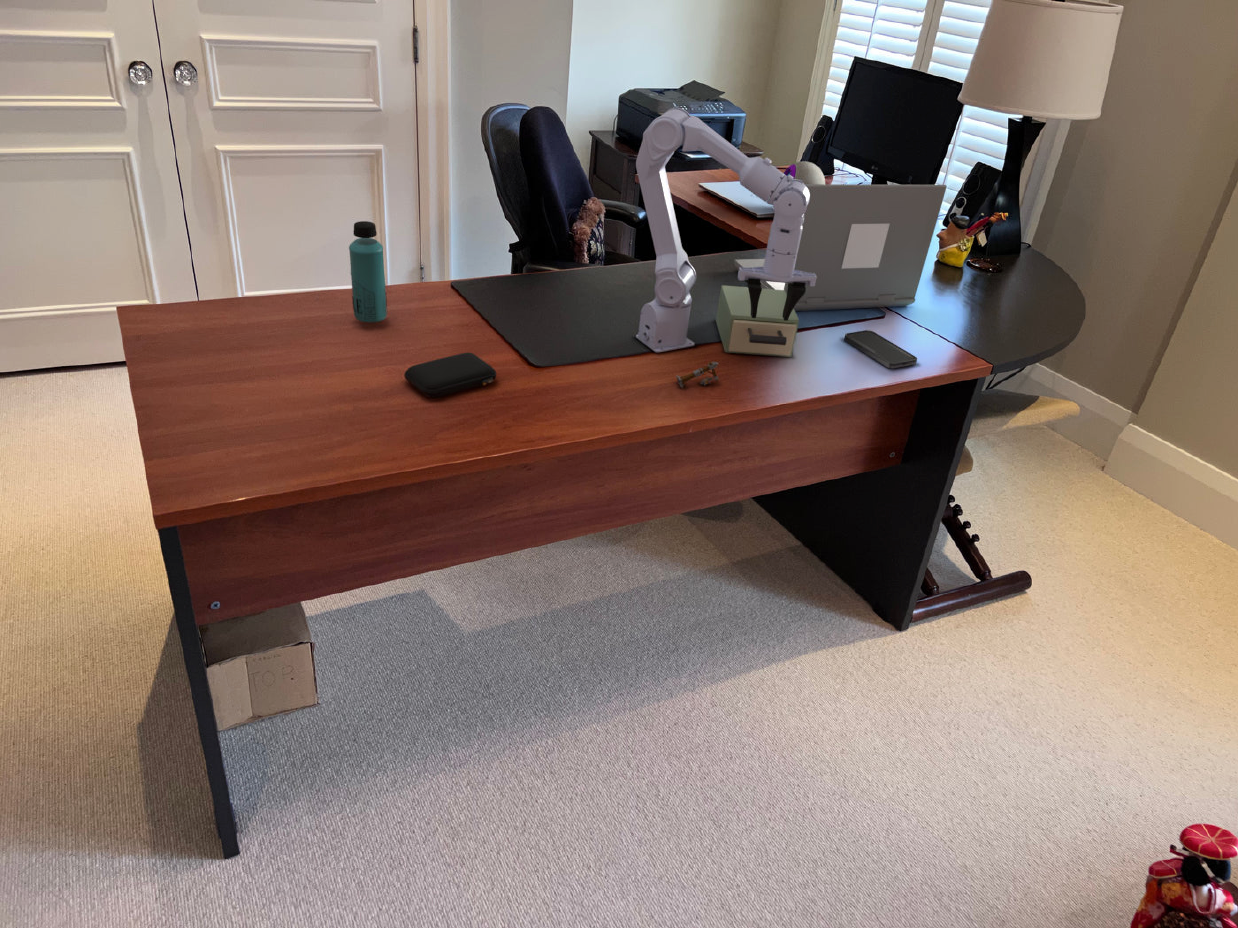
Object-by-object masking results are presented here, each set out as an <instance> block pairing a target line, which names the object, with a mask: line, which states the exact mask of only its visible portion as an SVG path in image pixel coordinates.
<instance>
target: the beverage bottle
mask: <svg viewBox="0 0 1238 928" xmlns="http://www.w3.org/2000/svg"><path fill="white" fill-rule="evenodd" d="M352 232H353V236H354V237H357V238H355V240H353V241H352V242H351V243H350V244H349V245H348V250H349V259H350V260H349V261H350V264H349V265H350V272H349V274H350V277H351V278H350V279H351V294H352V295H351V300H352V303H351V304H352V311H353V315H354V318H355V320H358V321H359V322H364V323H378V322H382V321H383V320H385V319H386V318H387V315H388V301H387V300H388V298H387V290H386V288H387V283H386V277H385V264H384V263H385V262H384V245H383V244H382V243H381V242H380V241H379V240H377V239H375V238H374V237H376V236H377V226H376V224H375V222H372V221H368V220H362V221H356V222H355V223H353V231H352Z"/></svg>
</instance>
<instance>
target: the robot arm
mask: <svg viewBox="0 0 1238 928" xmlns="http://www.w3.org/2000/svg"><path fill="white" fill-rule="evenodd" d="M682 145H683V146H682ZM681 146H682V150H681V151H682V152H698V151H700V152H702V153H704V154H706V155H707V156H709V157H710V158H712V159H714V160H715V161H717V162H718V163H720V164H722V165H723V166H724V167H726V168H727V169H729V170H730V171H733V172H734V173H736V174H737V176H738V180H739V185H741V186H742V187H743V188H745V189H746V190H748V191H749V192H750V193H751V194H753V195H755V196H756V197H757V198H759V200H762V201H763V202H765V203H766V204H768V205H771V206H772V208H773V212H774V216H773V221H772V222H771V223H770V230H769V235H768V241H767V246H766V249H765V250H766V251H765V256H764V259H765V261H764V266H763V267H739V270H738V271H737V279H738V281H742V282H746V285H747V287H748V289H749V294H750V302H751V317H752V318H756V315H757V308H758V302H759V298H760V294H761V291H762V288H761V282H760V281H768V282H781V283H788V289H787V297H786V302H785V306H784V309H783V316H782V317H783V319H784V321H788V318H789V316H790V314H791V312H792V310H793V308H794V307H795V305H796V304H797V302H798V301H799V300H800V298H801V297H802V296H803V295H804V294H805V292H806V287H805V285H809V286H815V283H816V278H817V277H816V275H815V273H808V272H803V271H798V270H794V268H795V263H796V258H797V253H798V249H799V244H800V239H801V234H802V229H803V227H802V224H803V222H804V213H805V211H806V209H807V205H808V203H809V199H810V193H809V190H808V188H807V186H806V185H805V184H804V183H803V182H802V181H801V180H797V179H793V177H792V176H791V175H788V177H787V176H786V175H785V174H783V173H784V172H782V171H780V169H778V168H776V167H775V166H774V165H772V162H773V161H772V159H770V158H768V157H765V158H762V157H761V156H754V157H748V156H747V155H746V154H745V153H743V152H741V151H740V150H739V149H738V148H737V147H735V146H734V144H732V143H730V142H729V141H728V140H727V139H725V138H724V137H723V136H721V135H720V134H719V133H717V131H715V130H714V129H713V128H711V127H710V126H708V125H707V124H706V123H705V122H704V121H703V120H701V119H700V118H699V117H697V116H695V115H691V114H690V113H689V112H688V111H687V110H686V109H684V108H681V107H672V108H669V109H668V110H667V109H666V111H665V112H664V113H663V114H662V115H660V116H658V117H655V119H654V120H652V121H651V122H650V124H649V125H648V126H647V128H645V130H644V132H643V134H642V141H641V145H640V147H639V151H638V154H637V157H636V161H635V168H636V173H637V178H638V181H639V182H638V183H639V186H640V190H641V195H642V198H643V199H642V200H643V203H644V208H645V212H646V217H647V221H648V226H649V230H650V234H651V239H652V242H653V247H654V252H655V255H656V258H655V259H656V261H655V267H654V269H655V270H654V274H655V278H656V280H655V284H654V294H655V298H654V299H653V300H652V301H650V302H647V303H645V304H643V306H642V307H641V310H640V315H639V316H640V317H639V324H638V333H637V334H636V335H635V338H636V339H637V340H639V341H640V342H641V343H643V344H644V345H645V346H646V347H648V348H649V349H651V350H652V351H653V352H654V353H656V354H657V353H658V354H659V353H663V352H670V351H673V350H674V351H675V350H681V349H685V348H690V347H694V346H695V344H696V343H695V342H694V341H692V340H691V339H689V338H688V337H687V336H688V330H689V329H688V328H689V322H690V316H691V309H692V303H693V302H692V301H693V299H692V296H691V293H690V291H691V290H692V288H694V286H695V284H696V283H697V282H696V281H697V272H696V270H695V268H694V267H693V265H692V264H691V263H690V260H689V257H688V254H687V252H686V251H685V250H684V248H683V246H682V245H683V244H682V242H681V241H682V240H681V236H680V231H679V227H678V222H677V218H676V213H675V209H674V204H673V198H672V194H671V190H670V185H669V181H668V176H667V171H666V165H667V163H668V162H669V161H670V159H671V157H672V156H673V155H674V153H675V151H677V149H678V148H680V147H681ZM784 175H785V176H784ZM782 178H783V179H782Z"/></svg>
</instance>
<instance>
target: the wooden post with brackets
mask: <svg viewBox="0 0 1238 928" xmlns="http://www.w3.org/2000/svg"><path fill="white" fill-rule="evenodd" d="M717 366H719V363H718V361H709V362H708V363H707V365H705V366H703V367H699V368H697V369H695V370H693V371H692V372H691V373H688V374H684V375H682V376H679V375H675V377H676V379H677V383H678V385H679V386H680V387H681V388H684V385H685V384H686V383H688V382H689V381H691V380H692V379H696V378H698V377H701V376H702V375H704V374H705V373H708V374H711V375H712V376H709V377H708V376H706V377H705V378H702V379H701V381H700V382H699V384H700V385H704V386H706V385H707V384H711V381H713V379H714V380H715V383H719V382H720V380H719V376H718V374H717V371H716V369H717Z"/></svg>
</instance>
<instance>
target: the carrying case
mask: <svg viewBox="0 0 1238 928" xmlns="http://www.w3.org/2000/svg"><path fill="white" fill-rule="evenodd" d="M403 375H404V376H403V377H404V380H406V381H407V382H409V384H411V385H412V386H414V388H416V389H417V390H418V391H419V392H421V394H423V395H424V396H426V397H427V398H431V399H435V398H439V397H443V396H447V395H451V394H455V393H459V392H463V391H466V390H469V389H474V388H476V387H483V388H484V387H485V386H487V385H489V384H491V383H493V382H494V381H495V379H496V378H497V371H496V370H495V368H494V367H493V366H492V365H490V364H488V363H487V362H486V361H485V360H483V359H482V358H481V357H479V356H478V355H476V354H475V353H473V352H463V353H458V354H454V355H450V356H449V355H448V356H445V357H442V358H438V359H433V360H429V361H426V362H422V363H418V364H414V365H411V366H410V367H408V368H407V369H406V370H405V371H404V374H403Z"/></svg>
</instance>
